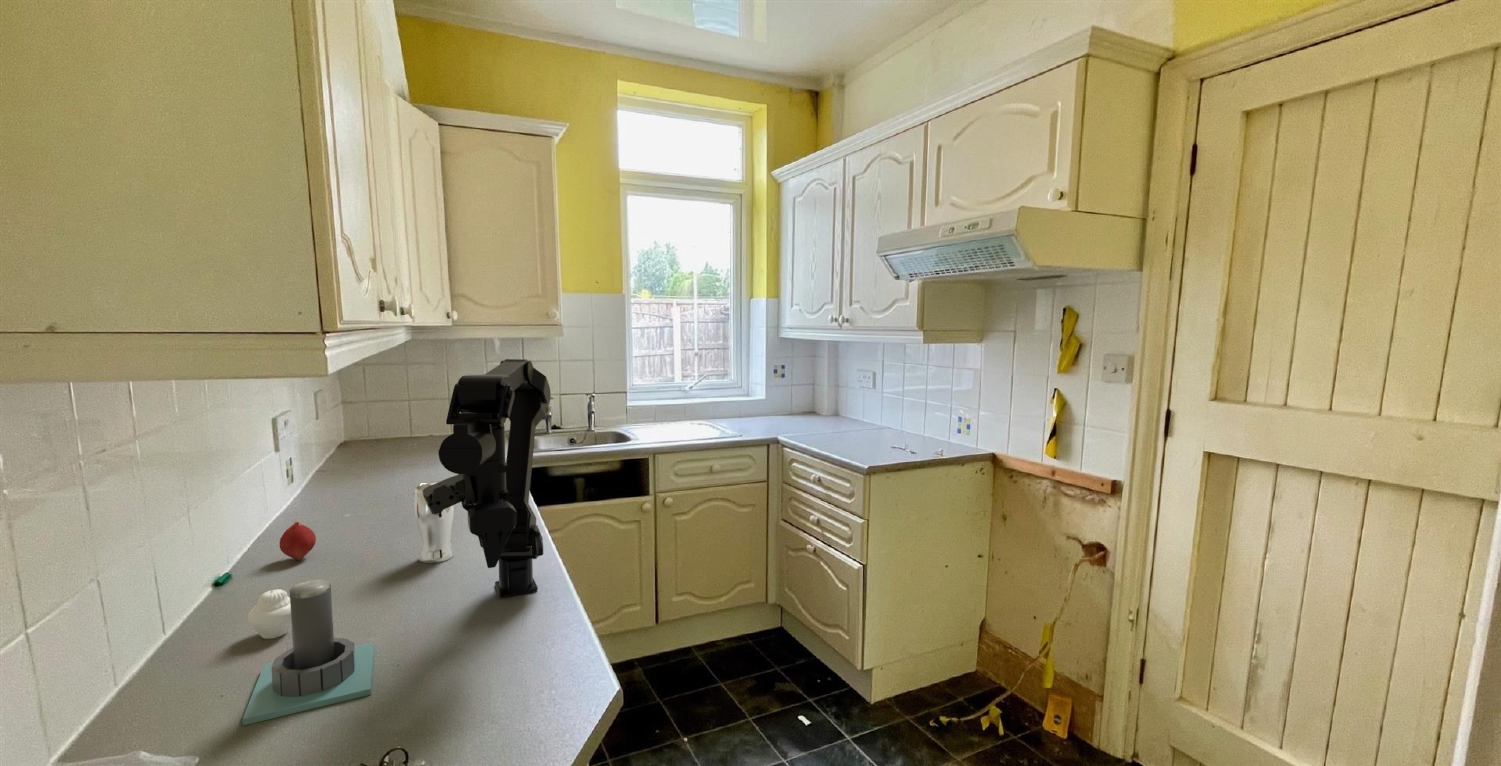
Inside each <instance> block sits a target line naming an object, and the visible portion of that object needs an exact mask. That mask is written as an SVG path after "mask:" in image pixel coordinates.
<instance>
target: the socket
mask: <svg viewBox="0 0 1501 766" xmlns="http://www.w3.org/2000/svg"><path fill="white" fill-rule="evenodd" d="M375 649H376V644H375V642H368V643H363V644H360V645H359V644H358V645H355V643H354V642H353V641H351V640H349V639H348V638H344V637H343V638H342V637H334V653H335V660H333V661H331V662H328V663H326V664H324V665H321V666H318V667H313V668H309V669H304V670H294V655H293V647H292V648H289V649H287V650H285V651H284V652H283V653H282V654H280V655H278V656H277V657H276V658H274V660H273V662H272V663H267V664H264V665H263V666H262V669H261V672H260V674H259V676H258V679H257V682H256V684H255V687H254V689H253V691H252V694H251V696H250V699H249V701H248V705H247V706H246V710H245V712H244V714H243V717H242V726H246V725H250V724H255V723H258V722H259V723H260V722H263V721H267V720H271V719H277V718H279V717H284V716H288V715H291V714H296V713H300V712H304V711H308V710H312V709H317V708H321V707H325V706H329V705H334V704H336V703H337V704H338V703H341V702H345V701H350V700H354V699H359V698H362V697H367V696H370V695H371V694H372V684H373V672H374V663H375V662H374V661H375Z"/></svg>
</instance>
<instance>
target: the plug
mask: <svg viewBox="0 0 1501 766" xmlns="http://www.w3.org/2000/svg"><path fill="white" fill-rule="evenodd" d="M289 597H290V606H291V622H292V625H291V635H292V637H291V638H292V648H293V655H294V670H304V669H309V668H313V667H318V666H321V665H324V664H326V663H328V662H331V661H333V660H335V653H334V638H335V637H334V635H335V634H334V621H333V600H332V599H333V598H332V583H331V581H330V580H329V579H312V580H307V581H304V582H300V583H298V584H297V583H296V584H295V585H293V586H292V587H290V589H289Z"/></svg>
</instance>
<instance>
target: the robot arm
mask: <svg viewBox="0 0 1501 766" xmlns="http://www.w3.org/2000/svg"><path fill="white" fill-rule="evenodd" d="M550 402H551V387H550V384H549V381H548V378H547V376H546V375H545V374H543V373H542V372H540V371H539V370H538V369H536V368H535V367H534V365H533V363H532V360H528V359H526V358H525V359H523V358H521V359H519V358H517V359H516V358H515V359H514V358H506V359H503V360H501V361H500V364H499V365H496V366H495V367H494V368H492V369H490V370H489V371H487V372H486V373H484V374H466V375H462V376H460V378H459V379H458V381H457V382H456V383H455V384H454V386H453V390H452V395H451V399H450V403H449V408H448V412H447V416H446V419H445V420H446V421H445V423H446V425H449V426H450V425H453V427H452V431H453V432H452V434H450V435H448V436H447V437H445V438H444V439H443V440H442V442H441V444H440V446H439V448H438V460H439V461H440V463H441V466H442V467H444V469H446V470H447V471H448V472H451V473H452V474H456V475H454V476H450V477H447V478H445V479H443V480H441V481H440V482H438V483H435V484H433V485H431V486H428V487H426V488H425V489H424V490H423V496H424V498H425V501H426V503H427V505H428V507H429V509H430V511H431V513H432V514H438V513H440V512H442V511H443V510H444V509H446V508H448V507H450V506H453V505H454V506H455V505H457V504H459V503H461V507H462V508H463V509H464V510H465V511H467V525H468V526H467V527H468V529H469V532H470V533H471V534H472V535H474V536H476V537H478V540H479V541H478V542H479V545H480V548H482V550H483V554H484V557H485V562H486V567H487V568H488V569H492V568H493V569H494V568H496V567H497V565H498V580H496V581H495V582H494V587H495V589H496V592H497V595H498V597H499V598H506V597H512V596H518V595H522V594H526V593H527V594H528V593H532V592H537V591H538V589H539V588H538V585H537V583H536V581H535V579H534V577H533V575H534V573H533V572H534V571H533V570H534V569H533V566H534V565H533V560H537V559H538V558H539V557H540V556H543V555H544V542H543V535H542V534H541V531H540V529H539V526H538V525H537V517H536V515H535V513H534V511H533V509H532V507H531V505H530V504H529V503H530V500H529V499H530V490H531V481H532V480H531V479H532V471H533V470H532V468H533V459H534V451H535V450H534V449H535V438H536V428H537V426H538V425H539V424H540V422H541V421H542V420H543V418H544V417H545V416H546V413H547V408H548V407H547V406H548V404H550ZM507 419H508V420H509V422H510V424H509V430H508V431H509V433H508V442H507V449H506V434H505V433H506V430H505V428H506V427H505V423H506V422H507Z"/></svg>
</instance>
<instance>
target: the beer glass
mask: <svg viewBox="0 0 1501 766" xmlns="http://www.w3.org/2000/svg"><path fill="white" fill-rule="evenodd" d="M438 482H440V481H430V482H429V481H428V482H425V483H420V484H418V485H416V486H415V490H414V491H415V494H414V513H415V514H414V515H415V520H416V525H417V528H418V532H419V538H420V553H419V561H420V563H422V564H438V563H442V562H446V561H448V560H450V559H452V558H453V557H454V556H453V555H454V552H453V549H452V545H451V532H452V526H453V520H454V512H455V511H454V510H455V509H454V508H455V505H453V506H450V507H448V508H446V509H444V510H443V511H442V512H440V513H438V514H432V513H431V511H430V509H429V507H428V505H427V503H426V501H425V498H424V496H423V490H424V489H425V488H426V487H428V486H431V485H433V484H435V483H438Z"/></svg>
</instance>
